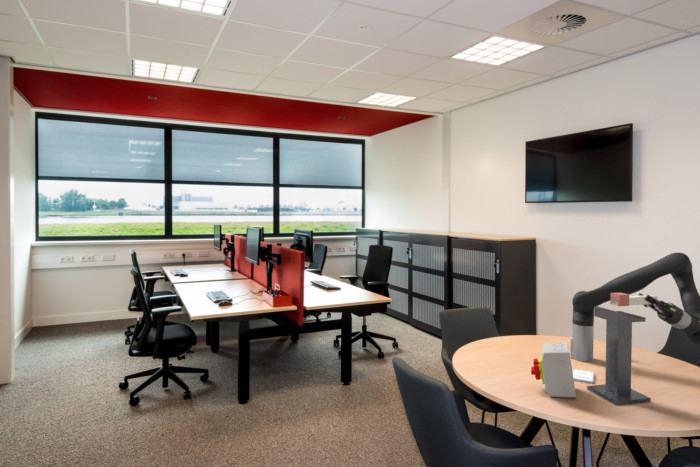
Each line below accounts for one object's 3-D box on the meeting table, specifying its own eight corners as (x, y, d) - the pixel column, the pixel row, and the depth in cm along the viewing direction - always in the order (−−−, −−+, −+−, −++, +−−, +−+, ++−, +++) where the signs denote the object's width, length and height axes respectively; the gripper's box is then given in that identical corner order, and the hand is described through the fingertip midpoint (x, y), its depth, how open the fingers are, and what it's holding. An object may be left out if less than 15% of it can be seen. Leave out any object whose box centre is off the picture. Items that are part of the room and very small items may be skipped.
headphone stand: (619, 386, 178) (620, 303, 177) (650, 402, 164) (652, 311, 162) (587, 389, 176) (588, 305, 174) (616, 405, 161) (617, 313, 159)
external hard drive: (594, 375, 192) (593, 385, 182) (573, 372, 197) (571, 381, 186) (594, 372, 192) (593, 381, 182) (573, 368, 196) (571, 377, 186)
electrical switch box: (536, 386, 184) (528, 340, 185) (574, 387, 178) (567, 339, 178) (534, 400, 171) (526, 349, 172) (576, 401, 165) (568, 349, 165)
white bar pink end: (649, 302, 173) (649, 291, 173) (659, 304, 169) (659, 293, 169) (610, 304, 170) (610, 293, 170) (619, 306, 166) (619, 295, 166)
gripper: (662, 304, 180) (632, 285, 177) (695, 311, 166) (662, 290, 163) (654, 320, 180) (623, 301, 177) (686, 328, 166) (653, 308, 163)
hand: (642, 296), depth 170 cm, fingers closed on white bar pink end, 3 cm apart
